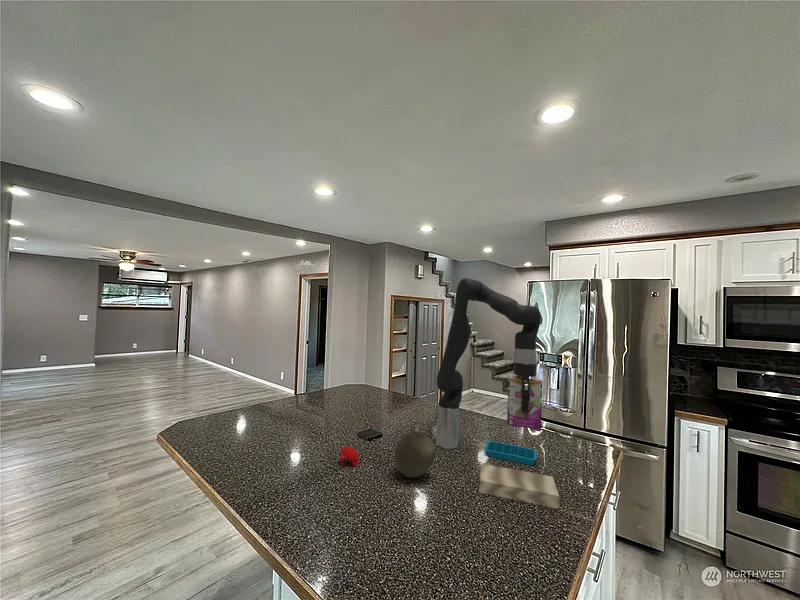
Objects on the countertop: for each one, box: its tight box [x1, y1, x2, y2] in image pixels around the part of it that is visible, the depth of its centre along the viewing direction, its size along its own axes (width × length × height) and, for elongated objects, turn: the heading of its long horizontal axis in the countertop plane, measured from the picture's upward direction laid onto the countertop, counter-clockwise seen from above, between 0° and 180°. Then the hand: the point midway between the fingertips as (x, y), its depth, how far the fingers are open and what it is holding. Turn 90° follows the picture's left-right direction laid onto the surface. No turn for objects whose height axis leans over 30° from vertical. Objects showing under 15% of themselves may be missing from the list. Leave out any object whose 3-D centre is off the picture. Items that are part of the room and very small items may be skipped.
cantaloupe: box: [394, 430, 437, 479], centre depth 117 cm, size 14×14×15 cm
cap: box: [339, 445, 360, 467], centre depth 123 cm, size 8×6×6 cm
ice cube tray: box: [484, 440, 537, 466], centre depth 138 cm, size 12×20×3 cm, turn 67°
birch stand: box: [478, 463, 560, 510], centre depth 110 cm, size 24×13×4 cm, turn 73°
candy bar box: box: [506, 376, 543, 431], centre depth 114 cm, size 11×5×16 cm, turn 72°
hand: (524, 410), depth 114 cm, fingers closed on candy bar box, 5 cm apart
